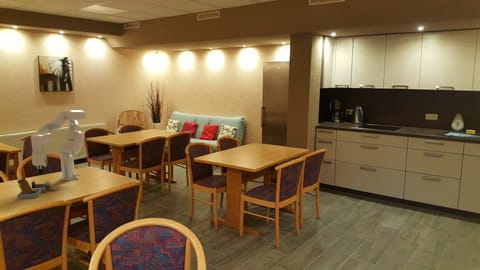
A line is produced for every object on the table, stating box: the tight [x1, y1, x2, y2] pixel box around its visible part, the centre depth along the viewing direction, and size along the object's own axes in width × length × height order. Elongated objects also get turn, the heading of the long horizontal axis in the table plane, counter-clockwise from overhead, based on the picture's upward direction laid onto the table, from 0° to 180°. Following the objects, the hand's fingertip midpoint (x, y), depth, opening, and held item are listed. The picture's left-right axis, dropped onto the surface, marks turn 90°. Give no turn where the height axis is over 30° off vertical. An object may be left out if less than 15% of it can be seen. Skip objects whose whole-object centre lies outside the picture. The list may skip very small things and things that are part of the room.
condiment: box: [17, 177, 37, 194], centre depth 255 cm, size 7×8×12 cm
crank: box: [30, 180, 52, 189], centre depth 268 cm, size 13×5×6 cm, turn 106°
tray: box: [17, 188, 43, 200], centre depth 257 cm, size 13×12×3 cm
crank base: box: [39, 186, 59, 193], centre depth 268 cm, size 20×6×3 cm, turn 106°
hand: (41, 173), depth 273 cm, fingers closed
